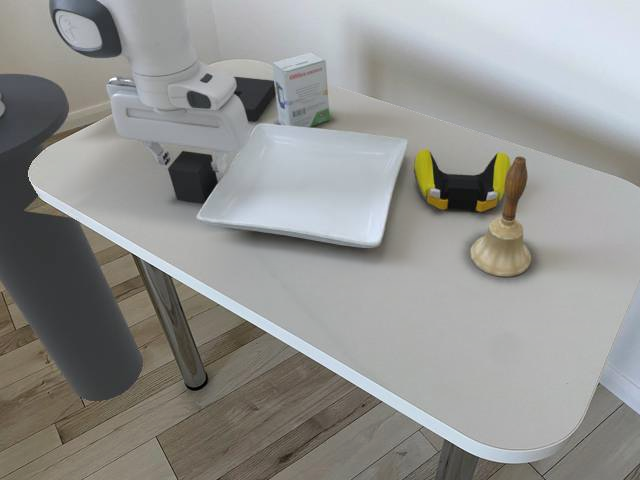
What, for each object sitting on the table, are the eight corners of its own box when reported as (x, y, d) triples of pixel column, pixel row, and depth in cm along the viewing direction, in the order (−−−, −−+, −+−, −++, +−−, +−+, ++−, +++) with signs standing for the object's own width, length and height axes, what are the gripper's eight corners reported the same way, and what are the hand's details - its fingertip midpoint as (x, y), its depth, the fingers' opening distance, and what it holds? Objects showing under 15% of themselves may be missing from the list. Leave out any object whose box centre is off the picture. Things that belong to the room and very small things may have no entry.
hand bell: (473, 276, 75) (492, 179, 63) (467, 235, 80) (483, 140, 69) (536, 277, 74) (566, 180, 63) (524, 236, 80) (550, 141, 69)
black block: (176, 199, 88) (167, 168, 84) (190, 181, 91) (182, 150, 87) (205, 204, 87) (197, 172, 83) (218, 185, 90) (211, 154, 86)
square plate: (198, 237, 81) (192, 217, 79) (260, 139, 100) (257, 120, 98) (379, 263, 77) (379, 242, 74) (408, 155, 96) (409, 135, 93)
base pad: (179, 112, 108) (176, 100, 106) (205, 84, 116) (203, 73, 114) (256, 121, 105) (254, 109, 103) (277, 92, 113) (276, 80, 111)
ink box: (291, 134, 101) (284, 72, 93) (277, 122, 105) (270, 61, 96) (330, 120, 105) (327, 59, 96) (316, 109, 108) (312, 49, 100)
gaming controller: (413, 173, 92) (411, 211, 85) (415, 144, 88) (413, 181, 81) (505, 177, 90) (511, 216, 83) (511, 148, 87) (518, 187, 80)
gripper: (89, 85, 76) (121, 169, 85) (227, 100, 72) (244, 186, 81) (114, 65, 80) (141, 147, 90) (246, 78, 76) (259, 163, 86)
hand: (191, 166), depth 86 cm, fingers open, 8 cm apart
